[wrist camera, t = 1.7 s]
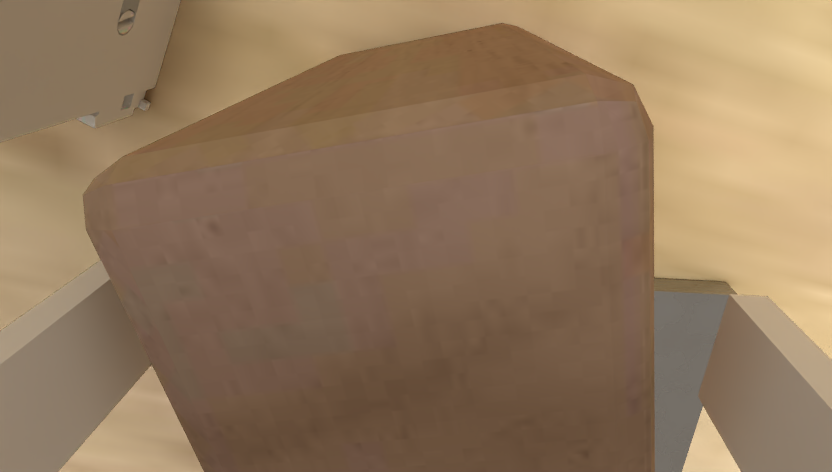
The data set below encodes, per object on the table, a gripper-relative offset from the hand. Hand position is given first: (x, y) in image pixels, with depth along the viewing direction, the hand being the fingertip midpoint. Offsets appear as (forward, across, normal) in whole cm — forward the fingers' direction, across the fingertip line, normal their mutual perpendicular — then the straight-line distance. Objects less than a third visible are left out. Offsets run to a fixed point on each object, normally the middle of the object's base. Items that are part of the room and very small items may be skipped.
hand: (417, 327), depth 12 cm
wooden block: (+18, 0, 0) cm, 18 cm away
